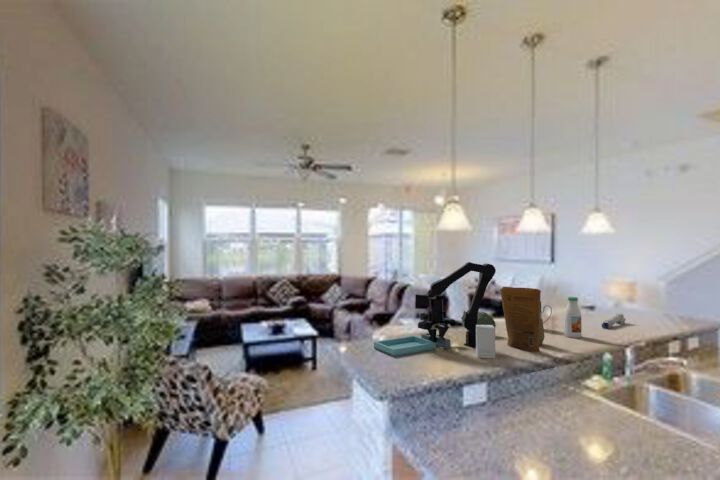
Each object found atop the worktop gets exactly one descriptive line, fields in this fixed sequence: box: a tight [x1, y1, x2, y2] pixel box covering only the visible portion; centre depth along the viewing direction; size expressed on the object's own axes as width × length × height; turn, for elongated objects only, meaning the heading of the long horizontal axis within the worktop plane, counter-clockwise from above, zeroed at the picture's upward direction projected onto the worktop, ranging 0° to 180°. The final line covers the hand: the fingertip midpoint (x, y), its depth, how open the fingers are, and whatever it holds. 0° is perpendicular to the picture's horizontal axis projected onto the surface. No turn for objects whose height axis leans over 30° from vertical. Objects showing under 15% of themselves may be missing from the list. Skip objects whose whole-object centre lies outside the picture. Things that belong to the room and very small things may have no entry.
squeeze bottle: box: [538, 314, 546, 346], centre depth 198 cm, size 8×8×18 cm
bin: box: [373, 335, 437, 357], centre depth 191 cm, size 16×23×3 cm
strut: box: [420, 332, 451, 350], centre depth 198 cm, size 16×6×4 cm, turn 30°
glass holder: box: [540, 300, 553, 324], centre depth 230 cm, size 9×14×15 cm, turn 43°
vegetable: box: [477, 311, 497, 329], centre depth 220 cm, size 12×13×15 cm
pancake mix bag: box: [499, 286, 542, 353], centre depth 191 cm, size 7×19×28 cm, turn 36°
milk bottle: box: [563, 296, 582, 339], centre depth 213 cm, size 8×8×20 cm
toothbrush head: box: [601, 312, 626, 330], centre depth 238 cm, size 5×7×25 cm
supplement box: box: [475, 325, 496, 359], centre depth 179 cm, size 7×7×13 cm
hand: (437, 342), depth 198 cm, fingers open, 4 cm apart
